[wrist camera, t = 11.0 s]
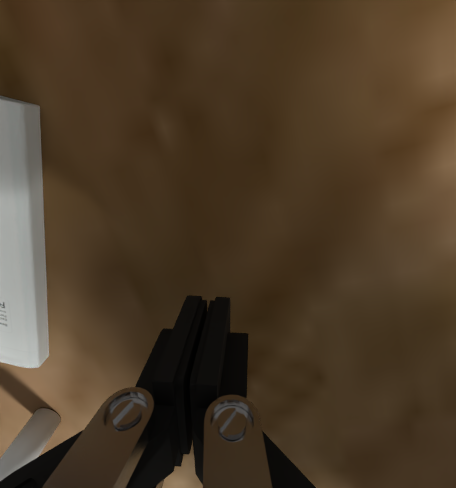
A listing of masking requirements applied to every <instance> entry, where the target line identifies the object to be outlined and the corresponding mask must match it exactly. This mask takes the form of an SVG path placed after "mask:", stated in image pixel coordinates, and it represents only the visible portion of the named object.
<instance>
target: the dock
mask: <svg viewBox="0 0 456 488" xmlns="http://www.w3.org/2000/svg"><path fill="white" fill-rule="evenodd" d="M60 422H61V419H60V416H59V415H58V414H57V413H56V412H54V411H52V410H50V409H46V408H41V409H38V410H36V411H35V413H34V414H33V415H32V417H31V418H30V419H29V421H28V422H27V423H26V425H25V426H24V427H23V429H22V430H21V431H20V433H19V434H18V436H17V437H16V438H15V440H14V441H13V442H12V444H11V445H10V446H9V448H8V449H7V450H6V452H5V453H4V454H3V456H2V457H1V458H0V481H1V480H3V479H4V478H5V477H7V476H8V475H10V474H11V473H12V472H14V471H16V470H17V469H19V468H21V467H22V466H24V465H26V464H27V463H29V462H31V461H32V460H34V459H36V458H37V457H38V456H39V455H40V453H41V452H42V450H43V449H44V447H45V445H46V444H47V442H48V441H49V439H50V438H51V436H52V434H53V433H54V431H55V430H56V428H57V427H58V425H59V423H60Z"/></svg>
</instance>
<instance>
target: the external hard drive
mask: <svg viewBox="0 0 456 488" xmlns="http://www.w3.org/2000/svg"><path fill="white" fill-rule="evenodd" d="M48 336H49V335H48V308H47V280H46V254H45V229H44V200H43V178H42V151H41V128H40V106H39V105H35V104H32V103H27V102H24V101H20V100H16V99H12V98H8V97H4V96H0V362H3V363H7V364H11V365H15V366H20V367H25V368H37V367H40V366H41V365H42V363H43V362H44V361H45V360H46V359H47V358H48V356H49V341H48Z"/></svg>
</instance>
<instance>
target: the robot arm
mask: <svg viewBox="0 0 456 488" xmlns="http://www.w3.org/2000/svg"><path fill="white" fill-rule="evenodd" d="M247 359H248V334H247V333H230V298H228V297H216V299H215V301H213V300H211V301H210V304H209V308H208V311H207V300H202V297H201V296H187V297H186V299H185V301H184V304H183V306H182V309H181V311H180V314H179V316H178V318H177V321H176V323H175V326H174V328H173V329H163V330H162V331H161V333H160V335H159V337H158V339H157V341H156V343H155V345H154V348H153V350H152V352H151V354H150V356H149V358H148V360H147V363H146V365H145V367H144V369H143V371H142V373H141V375H140V377H139V380H138V382H137V384H136V386H135V387H130V388H125V389H122V390H120V391H118V392H116V393H114V394H113V395H112V396H110V397H109V398H108V399H107V400H106V401H105V402H104V403H103V404H102V406H101V407H100V408H99V410H98V411H97V413H96V414H95V415H94V417H93V418H92V419H91V421H90V422H89V424H88V425H87V426H86V428H85V429H84V430H83V431H81V432H79V433H78V434H76V435H74V436H73V437H71V438H69V439H68V440H66V441H64V442H63V443H61V444H59V445H58V446H56V447H54V448H53V449H51V450H49V451H47V452H46V453H44V454H42V455H41V456H39V457H37V458H36V459H34V460H32V461H31V462H29V463H27V464H26V465H24V466H22V467H21V468H19V469H17V470H16V471H14V472H12V473H11V474H10V475H8V476H7V477H5V478H4V479H3V480H1V481H0V488H162V486H163V482H164V479H165V478H166V477H167V476H168V475H170V474H171V473H172V472H173V471H174V467H175V466H181V463H182V459H183V454H189V453H190V450H191V445H192V440H193V448H194V457H195V472H196V475H197V477H198V478H199V480H200V481H201V483H202V484H203V488H316V487H315V486H314V485H313V484H312V483H311V482H310V481H309V480H308V479H307V478H306V477H305V476H304V475H303V474H302V473H301V471H300V470H299V469H298V468H297V467H296V466H295V465H294V464H293V463H292V462H291V461H290V460H289V459H288V458H287V457H286V456H285V455H284V453H283V452H282V451H281V450H280V449H279V448H278V447H277V446H276V445H275V444H274V443H273V442H272V441H271V440H270V439H269V438H268V437H267V436H266V434H265V433H264V432H263V431H262V427H261V422H260V417H259V414H258V411H257V409H256V408H255V406H254V405H253V403H252V402H250V401H249V400H248V399H246V397H247Z"/></svg>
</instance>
